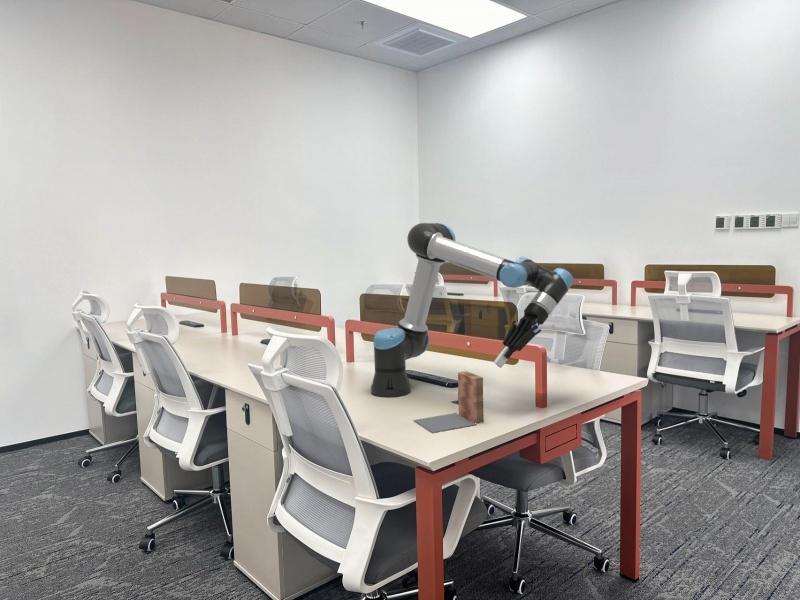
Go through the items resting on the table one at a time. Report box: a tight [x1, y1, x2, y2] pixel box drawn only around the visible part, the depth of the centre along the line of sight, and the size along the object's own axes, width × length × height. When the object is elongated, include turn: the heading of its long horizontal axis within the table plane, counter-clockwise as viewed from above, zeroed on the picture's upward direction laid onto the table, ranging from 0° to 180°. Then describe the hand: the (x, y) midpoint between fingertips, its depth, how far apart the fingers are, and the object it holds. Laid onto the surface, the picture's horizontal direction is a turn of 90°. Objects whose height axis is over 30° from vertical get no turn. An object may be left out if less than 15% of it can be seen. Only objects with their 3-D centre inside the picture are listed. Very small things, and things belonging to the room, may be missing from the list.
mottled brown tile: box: [457, 370, 485, 424], centre depth 174 cm, size 10×3×14 cm, turn 24°
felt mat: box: [412, 412, 477, 434], centre depth 171 cm, size 13×15×1 cm
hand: (497, 364), depth 178 cm, fingers closed
